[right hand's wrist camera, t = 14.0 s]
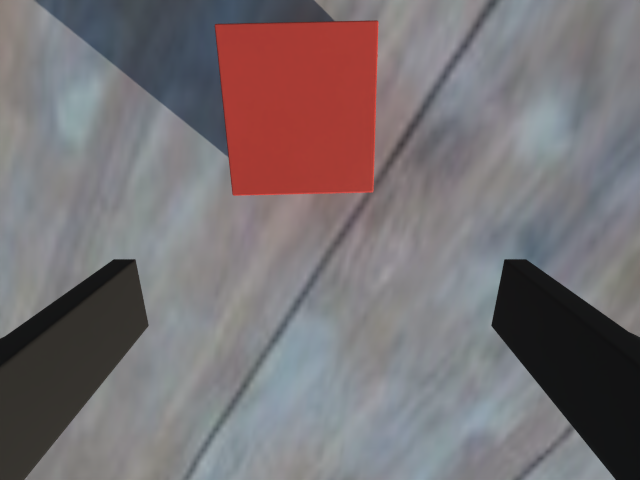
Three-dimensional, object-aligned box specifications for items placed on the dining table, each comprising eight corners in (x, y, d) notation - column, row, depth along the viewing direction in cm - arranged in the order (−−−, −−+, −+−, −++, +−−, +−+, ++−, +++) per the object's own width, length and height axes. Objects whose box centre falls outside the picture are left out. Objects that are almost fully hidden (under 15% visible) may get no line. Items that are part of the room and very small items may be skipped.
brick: (359, 174, 28) (373, 192, 21) (252, 177, 28) (232, 195, 21) (361, 46, 25) (378, 20, 18) (241, 49, 25) (214, 23, 18)
